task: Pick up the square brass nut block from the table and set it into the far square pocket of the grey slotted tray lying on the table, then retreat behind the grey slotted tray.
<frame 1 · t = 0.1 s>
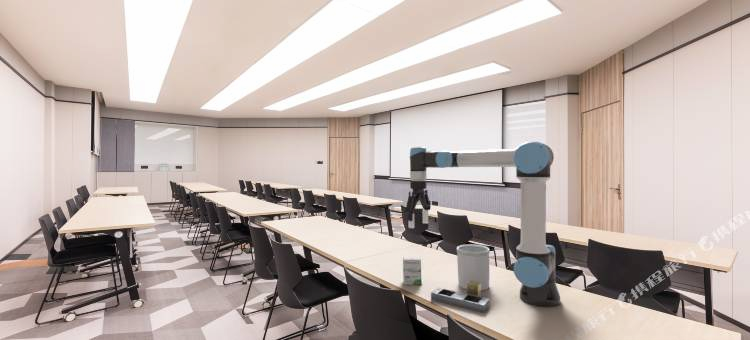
hand: (418, 225, 154), 28 cm above the table, fingers open, 13 cm apart
utensil holder: (473, 285, 153), on the table
ink box: (412, 283, 157), on the table
grey slotted tray: (459, 302, 134), on the table
nut block: (474, 297, 139), on the table
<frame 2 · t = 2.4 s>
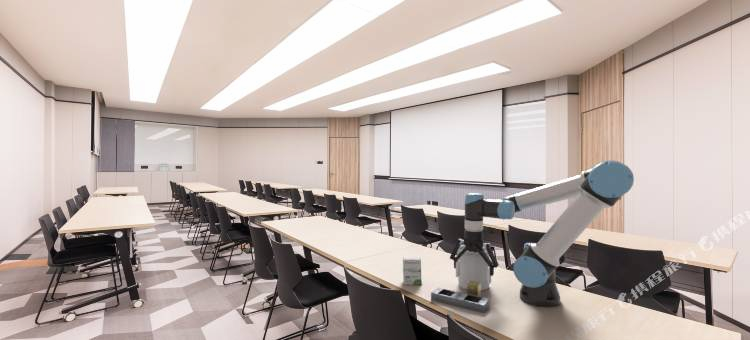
hand: (473, 279, 139), 7 cm above the table, fingers open, 13 cm apart
nothing on the table moved.
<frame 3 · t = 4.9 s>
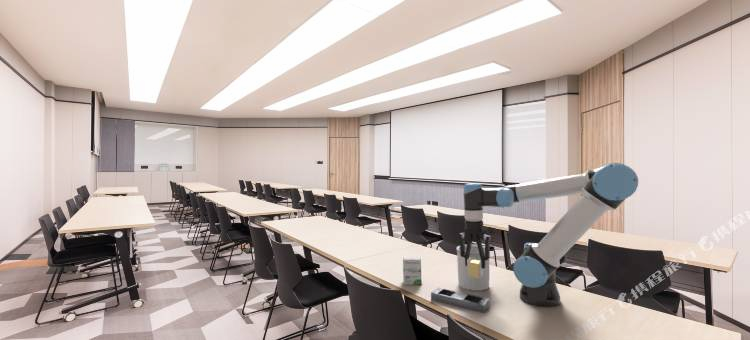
hand: (475, 274, 139), 10 cm above the table, fingers closed on nut block, 4 cm apart
nut block: (475, 275, 139), point 9 cm above the table, touching gripper
everything else where it was.
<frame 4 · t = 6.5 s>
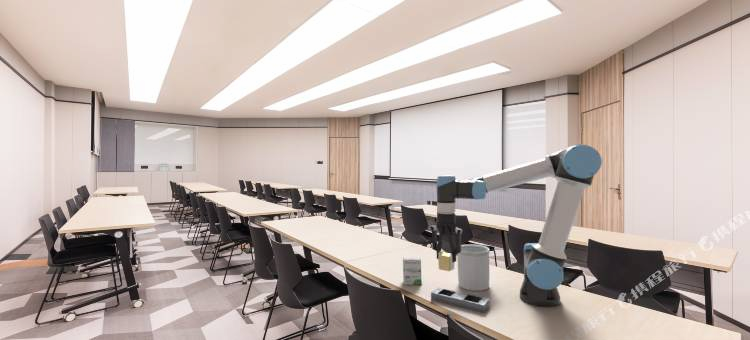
hand: (446, 268, 137), 13 cm above the table, fingers closed on nut block, 4 cm apart
nut block: (446, 268, 137), point 13 cm above the table, touching gripper
everything else where it was.
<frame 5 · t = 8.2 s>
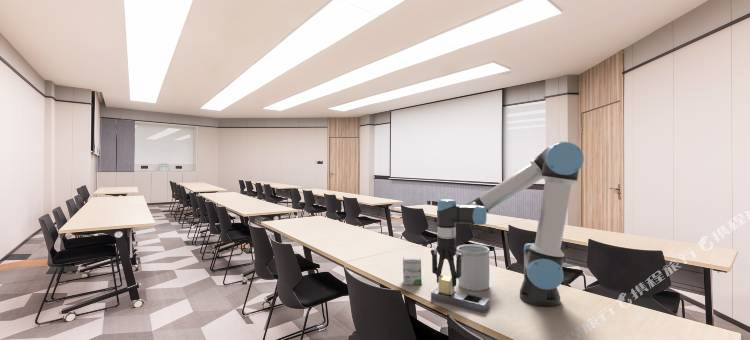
hand: (446, 292, 137), 3 cm above the table, fingers closed on nut block, 4 cm apart
nut block: (446, 292, 137), point 3 cm above the table, touching gripper
everything else where it was.
when the fingers open (3 cm above the table, at t = 10.6 s): nut block drops 2 cm, resting on grey slotted tray.
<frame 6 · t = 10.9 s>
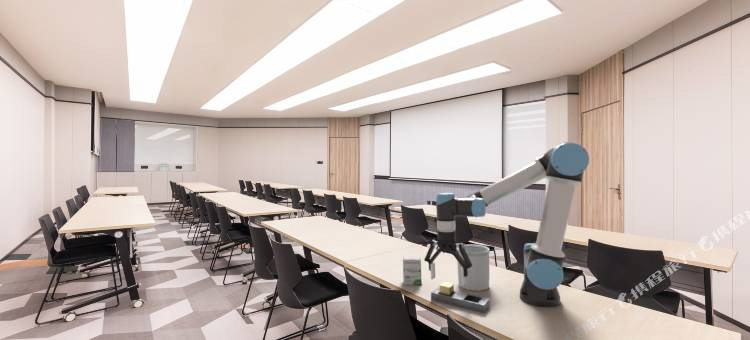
hand: (448, 281, 137), 8 cm above the table, fingers open, 13 cm apart
nut block: (446, 298, 137), resting on grey slotted tray
everything else where it was.
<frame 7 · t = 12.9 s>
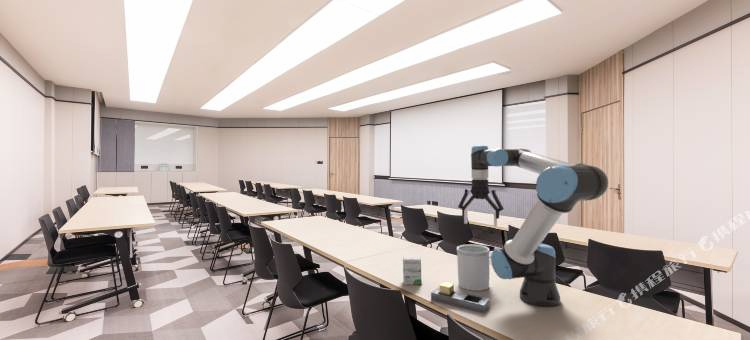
hand: (480, 224, 153), 28 cm above the table, fingers open, 13 cm apart
nothing on the table moved.
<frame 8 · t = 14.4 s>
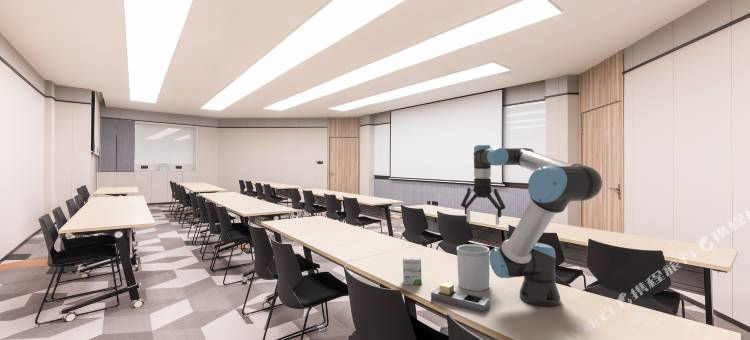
hand: (482, 222, 155), 29 cm above the table, fingers open, 13 cm apart
nothing on the table moved.
at the end: nut block 0.1 cm from the target spot on the grey slotted tray, point 0.4 cm above the grey slotted tray's base; nut block tilted 0°; the gripper is holding nothing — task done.
